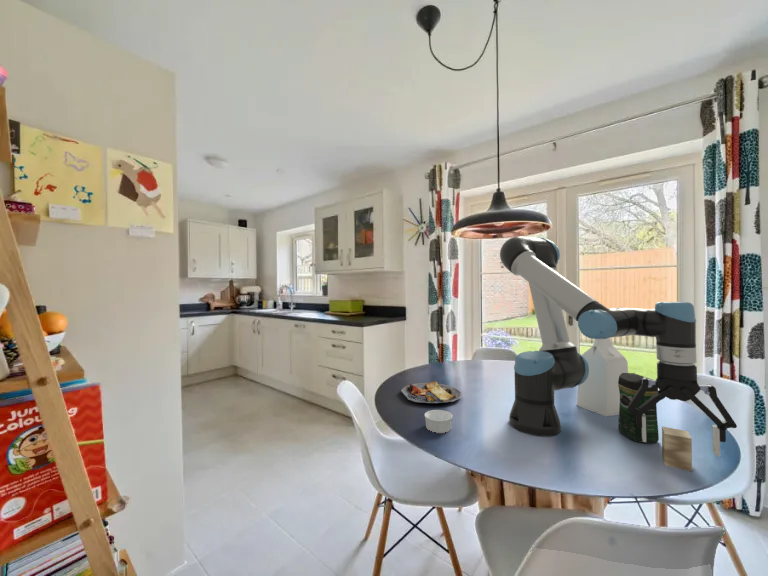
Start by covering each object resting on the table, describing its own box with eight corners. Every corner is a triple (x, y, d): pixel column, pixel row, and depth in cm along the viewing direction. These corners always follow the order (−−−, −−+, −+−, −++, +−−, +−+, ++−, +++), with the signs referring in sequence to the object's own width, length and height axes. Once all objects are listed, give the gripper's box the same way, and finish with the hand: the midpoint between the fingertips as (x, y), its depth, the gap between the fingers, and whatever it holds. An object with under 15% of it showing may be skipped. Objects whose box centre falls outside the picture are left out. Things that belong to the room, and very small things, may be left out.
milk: (599, 401, 126) (599, 335, 126) (630, 412, 115) (630, 339, 115) (576, 405, 122) (576, 336, 122) (606, 416, 112) (605, 341, 112)
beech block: (664, 465, 81) (664, 433, 81) (662, 456, 85) (662, 426, 85) (691, 471, 78) (691, 438, 78) (687, 462, 83) (687, 431, 83)
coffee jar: (665, 444, 92) (664, 379, 92) (636, 444, 92) (636, 379, 92) (638, 429, 101) (638, 370, 101) (613, 429, 102) (613, 370, 101)
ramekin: (431, 436, 98) (431, 422, 98) (420, 424, 107) (420, 411, 107) (457, 432, 100) (457, 418, 100) (444, 421, 109) (444, 408, 109)
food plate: (395, 388, 144) (395, 380, 144) (444, 385, 149) (444, 377, 149) (413, 411, 119) (413, 401, 119) (470, 406, 125) (470, 397, 125)
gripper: (615, 359, 86) (618, 440, 86) (754, 371, 72) (757, 468, 71) (615, 355, 92) (617, 429, 92) (742, 365, 78) (745, 454, 77)
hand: (678, 446), depth 82 cm, fingers open, 13 cm apart
